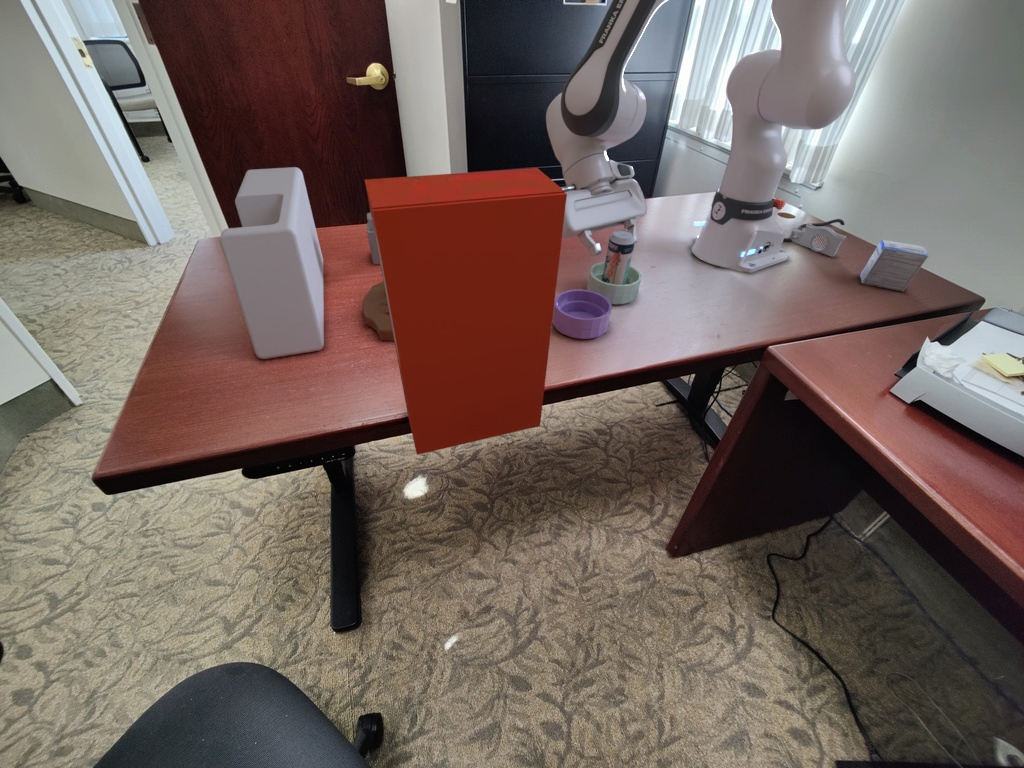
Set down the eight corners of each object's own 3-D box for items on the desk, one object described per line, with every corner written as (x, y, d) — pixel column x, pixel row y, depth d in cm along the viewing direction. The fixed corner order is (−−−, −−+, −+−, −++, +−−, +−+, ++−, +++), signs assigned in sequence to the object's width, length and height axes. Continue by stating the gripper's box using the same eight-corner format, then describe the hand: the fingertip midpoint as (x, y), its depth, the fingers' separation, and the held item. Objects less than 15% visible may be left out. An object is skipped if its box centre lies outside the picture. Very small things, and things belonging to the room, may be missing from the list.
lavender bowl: (591, 306, 86) (594, 286, 83) (617, 335, 79) (622, 314, 76) (543, 314, 83) (545, 294, 80) (566, 345, 76) (569, 323, 73)
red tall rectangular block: (540, 428, 61) (567, 192, 40) (417, 457, 57) (372, 208, 35) (521, 391, 67) (535, 166, 45) (407, 415, 62) (364, 178, 41)
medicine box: (899, 283, 97) (925, 246, 91) (903, 292, 94) (930, 254, 88) (858, 275, 99) (881, 238, 94) (861, 284, 96) (884, 246, 90)
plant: (356, 294, 86) (344, 239, 79) (451, 277, 93) (448, 225, 85) (375, 352, 73) (361, 293, 65) (484, 328, 79) (483, 271, 72)
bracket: (287, 320, 97) (244, 170, 85) (336, 313, 99) (301, 167, 88) (256, 361, 70) (188, 150, 58) (325, 350, 72) (273, 146, 61)
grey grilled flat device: (786, 240, 113) (796, 217, 109) (789, 238, 114) (800, 216, 110) (832, 258, 106) (845, 234, 102) (836, 256, 107) (849, 232, 103)
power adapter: (386, 252, 101) (377, 199, 93) (387, 263, 97) (378, 208, 89) (372, 253, 100) (362, 199, 92) (373, 264, 96) (362, 209, 88)
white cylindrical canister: (597, 285, 91) (607, 228, 83) (619, 285, 92) (632, 228, 84) (603, 297, 88) (614, 239, 80) (626, 296, 88) (639, 239, 80)
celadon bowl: (620, 278, 95) (624, 258, 92) (646, 301, 88) (651, 281, 85) (578, 284, 92) (580, 265, 89) (601, 309, 85) (605, 289, 82)
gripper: (555, 180, 77) (583, 254, 77) (638, 165, 85) (663, 232, 86) (538, 198, 83) (564, 267, 83) (618, 182, 91) (641, 245, 92)
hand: (615, 249), depth 85 cm, fingers open, 8 cm apart
